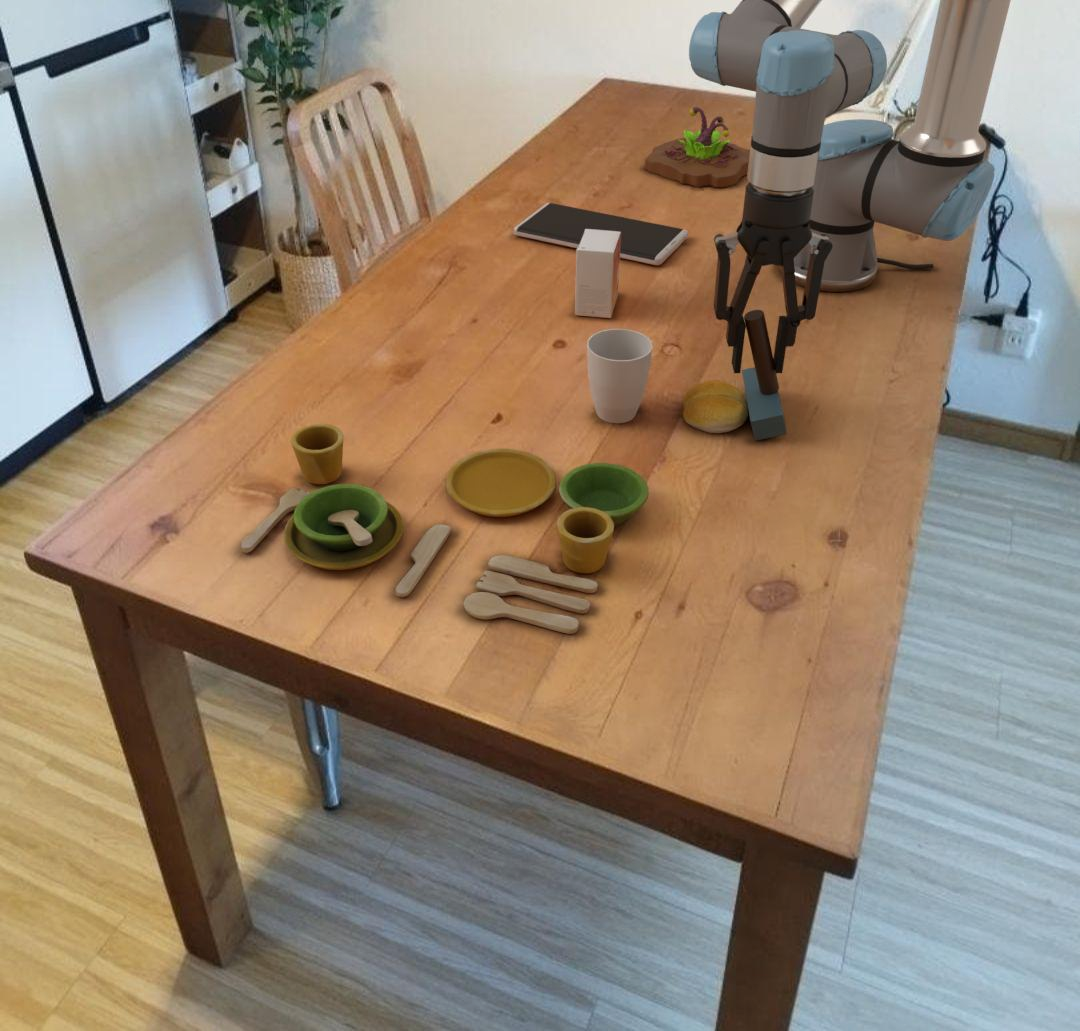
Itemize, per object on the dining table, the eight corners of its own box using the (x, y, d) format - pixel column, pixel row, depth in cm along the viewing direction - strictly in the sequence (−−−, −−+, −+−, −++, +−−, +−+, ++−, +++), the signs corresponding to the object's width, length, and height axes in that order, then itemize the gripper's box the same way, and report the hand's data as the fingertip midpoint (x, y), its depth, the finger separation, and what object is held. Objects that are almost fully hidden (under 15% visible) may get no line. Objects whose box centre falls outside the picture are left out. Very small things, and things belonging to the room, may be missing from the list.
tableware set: (224, 553, 116) (213, 506, 112) (347, 422, 137) (341, 379, 133) (584, 647, 105) (586, 600, 101) (660, 489, 125) (664, 445, 121)
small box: (611, 319, 159) (614, 253, 152) (574, 316, 160) (575, 249, 153) (619, 295, 165) (622, 230, 158) (583, 292, 166) (584, 227, 159)
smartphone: (547, 210, 191) (547, 200, 190) (689, 238, 182) (690, 228, 181) (511, 237, 182) (511, 227, 181) (659, 268, 172) (660, 258, 171)
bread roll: (682, 434, 135) (685, 407, 132) (682, 397, 142) (685, 370, 139) (749, 438, 134) (753, 411, 132) (745, 400, 141) (749, 374, 139)
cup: (654, 402, 140) (659, 334, 134) (638, 435, 134) (643, 365, 128) (595, 391, 143) (597, 324, 136) (576, 423, 137) (578, 354, 130)
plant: (681, 143, 219) (686, 86, 212) (768, 163, 210) (776, 104, 203) (630, 171, 206) (633, 112, 199) (720, 194, 197) (726, 133, 190)
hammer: (777, 381, 142) (758, 289, 133) (788, 433, 132) (769, 337, 124) (745, 388, 143) (725, 297, 134) (754, 440, 133) (733, 346, 125)
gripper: (852, 172, 122) (821, 353, 136) (698, 172, 123) (683, 353, 137) (866, 196, 116) (833, 383, 130) (704, 197, 117) (688, 383, 131)
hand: (756, 367), depth 134 cm, fingers closed on hammer, 4 cm apart
